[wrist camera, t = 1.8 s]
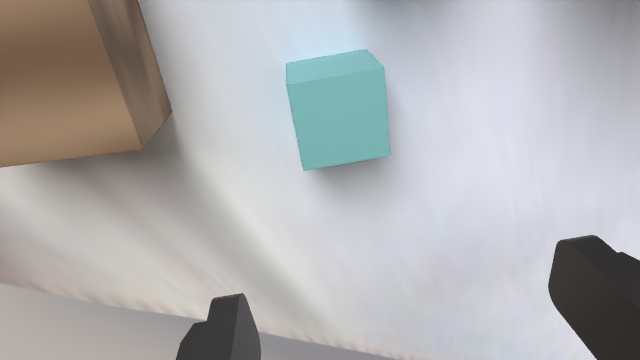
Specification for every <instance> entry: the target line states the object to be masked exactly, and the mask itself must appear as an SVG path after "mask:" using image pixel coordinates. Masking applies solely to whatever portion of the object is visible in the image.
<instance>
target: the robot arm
mask: <svg viewBox="0 0 640 360" xmlns="http://www.w3.org/2000/svg"><path fill="white" fill-rule="evenodd" d="M548 287H549V293H550V297H551V299H552V302H553V304H554V305H555V307H556V308H557V310H558V311H559V312H560V314H561V315H562V316H563V317H564V319H565V320H566V321H567V322H568V324H569V325H570V326H571V328H572V329H573V330H574V331H575V333H576V334H577V335H578V336H579V338H580V339H581V340H582V341H583V343H584V344H585V345H586V346H587V348H588V349H589V350H590V351H591V353H592V354H593V355H594V356H595V358H596V359H597V360H640V261H639V260H637V259H635V258H633V257H631V256H629V255H627V254H625V253H623V252H619V253H617V252H616V251H614V250H613V249H612V248H611V247H610V246H609V245H607V244H606V243H605V242H604V241H603V240H602V239H600V238H599V237H597V236H594V235H588V236H582V237H577V238H571V239H565V240H560V241H559V242H558V243H557V245H556V249H555V254H554V259H553V264H552V269H551V274H550V279H549V284H548ZM260 358H261V348H260V339H259V334H258V331H257V328H256V325H255V322H254V319H253V316H252V313H251V311H250V308H249V305H248V302H247V299H246V297H245V295H244V294H243V293H241V294H235V295H229V296H223V297H217V298H214V299H213V300H212V302H211V305H210V309H209V314H208V318H207V321H205V322H199V323H194V324H193V326H192V327H191V328H190V330H189V331H188V333H187V334H186V336H185V337H184V339H183V340H182V342H181V343H180V347H179V350H178V354H177V357H176V360H261V359H260Z"/></svg>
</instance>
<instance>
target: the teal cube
mask: <svg viewBox="0 0 640 360" xmlns="http://www.w3.org/2000/svg"><path fill="white" fill-rule="evenodd" d="M286 86H287V91H288V96H289V101H290V106H291V111H292V116H293V121H294V126H295V131H296V136H297V141H298V146H299V151H300V156H301V161H302V166H303V171H306V170H312V169H317V168H323V167H329V166H335V165H340V164H346V163H352V162H358V161H363V160H369V159H375V158H381V157H386V156H390V145H389V131H388V116H387V101H386V86H385V72H384V67H383V66H382V65H381V64H380V63H379V62H378V61H377V60H376V59H375V58H374V57H373V56H372V55H371V54H370V53H369V52H368V51H367V50H366V49H364V50H358V51H353V52H347V53H341V54H336V55H330V56H324V57H319V58H313V59H307V60H301V61H296V62H290V63H286Z"/></svg>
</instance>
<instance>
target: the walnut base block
mask: <svg viewBox="0 0 640 360" xmlns="http://www.w3.org/2000/svg"><path fill="white" fill-rule="evenodd" d="M171 113H172V109H171V106H170V103H169V99H168V96H167V93H166V90H165V87H164V83H163V80H162V77H161V74H160V71H159V67H158V64H157V61H156V58H155V54H154V51H153V48H152V45H151V42H150V38H149V35H148V32H147V29H146V26H145V22H144V19H143V16H142V13H141V9H140V6H139V3H138V0H0V168H1V167H8V166H16V165H24V164H32V163H40V162H48V161H56V160H63V159H71V158H79V157H87V156H95V155H103V154H110V153H118V152H126V151H134V150H142V149H143V148H144V147H145V146H146V145H147V143H148V142H149V141H150V139H151V138H152V137H153V136H154V134H155V133H156V132H157V131H158V129H159V128H160V127H161V125H162V124H163V123H164V122H165V120H166V119H167V118H168V116H169V115H170V114H171Z"/></svg>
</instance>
